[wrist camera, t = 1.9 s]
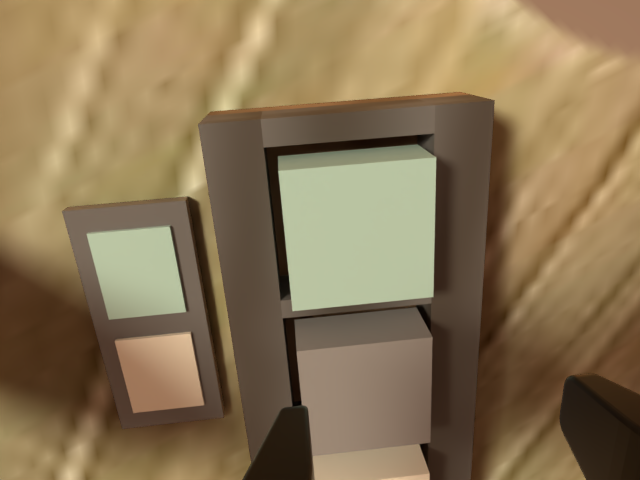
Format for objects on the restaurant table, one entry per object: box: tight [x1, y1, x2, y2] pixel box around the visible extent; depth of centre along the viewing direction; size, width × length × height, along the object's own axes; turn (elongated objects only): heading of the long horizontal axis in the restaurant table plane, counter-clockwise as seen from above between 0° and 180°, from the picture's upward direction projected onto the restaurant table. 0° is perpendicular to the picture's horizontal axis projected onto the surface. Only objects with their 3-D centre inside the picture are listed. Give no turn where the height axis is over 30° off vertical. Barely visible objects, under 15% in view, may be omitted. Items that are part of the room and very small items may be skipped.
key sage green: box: [278, 144, 436, 311], centre depth 16 cm, size 4×4×2 cm
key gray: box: [294, 307, 433, 456], centre depth 18 cm, size 4×4×2 cm
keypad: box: [198, 92, 495, 480], centre depth 20 cm, size 9×19×3 cm, turn 4°
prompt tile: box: [62, 197, 225, 429], centre depth 20 cm, size 4×10×1 cm, turn 4°
